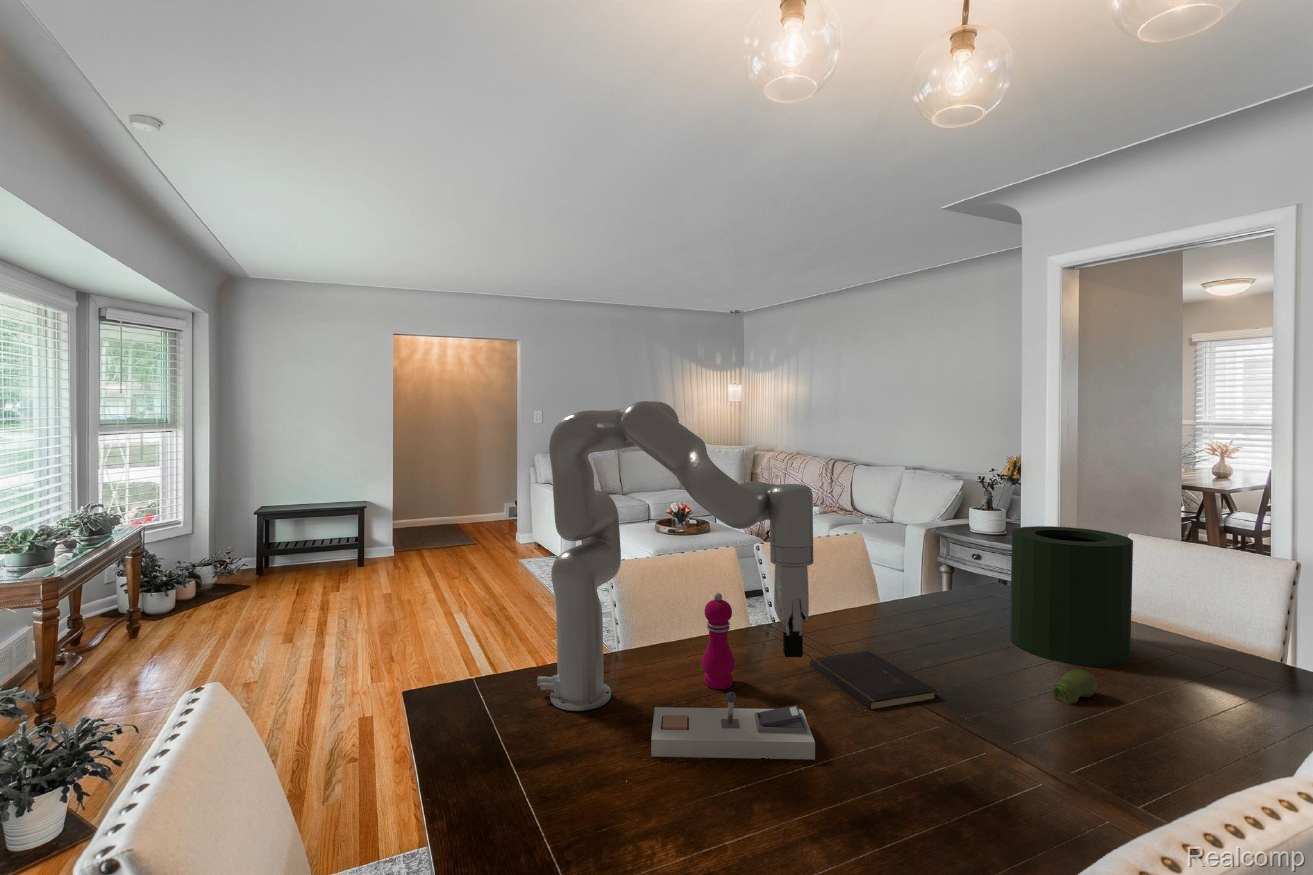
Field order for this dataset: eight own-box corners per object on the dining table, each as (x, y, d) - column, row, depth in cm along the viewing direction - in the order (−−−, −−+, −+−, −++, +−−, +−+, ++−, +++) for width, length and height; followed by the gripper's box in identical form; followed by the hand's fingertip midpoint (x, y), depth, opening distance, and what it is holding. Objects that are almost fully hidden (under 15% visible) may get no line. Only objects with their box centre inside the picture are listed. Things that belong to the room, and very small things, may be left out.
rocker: (763, 729, 113) (762, 723, 113) (760, 717, 118) (759, 711, 118) (802, 721, 113) (801, 716, 113) (798, 710, 117) (796, 704, 117)
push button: (662, 742, 114) (662, 726, 114) (663, 729, 119) (663, 715, 118) (687, 742, 114) (687, 727, 114) (687, 730, 118) (687, 715, 118)
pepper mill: (733, 691, 136) (733, 598, 135) (699, 689, 137) (699, 596, 136) (736, 677, 143) (736, 589, 142) (704, 675, 144) (703, 587, 143)
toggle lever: (725, 726, 115) (726, 697, 112) (725, 718, 117) (725, 689, 114) (735, 726, 115) (736, 697, 112) (734, 718, 116) (735, 689, 114)
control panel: (651, 756, 111) (651, 734, 110) (654, 722, 123) (654, 703, 122) (814, 759, 109) (814, 737, 109) (802, 724, 121) (802, 705, 121)
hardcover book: (868, 659, 154) (868, 650, 153) (936, 701, 132) (936, 690, 131) (809, 668, 149) (809, 658, 149) (870, 712, 127) (870, 701, 127)
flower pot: (1125, 640, 163) (1128, 531, 162) (1135, 675, 142) (1138, 550, 141) (1013, 623, 177) (1015, 523, 176) (1006, 653, 156) (1008, 539, 154)
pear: (1102, 671, 131) (1071, 689, 127) (1104, 696, 131) (1073, 713, 127) (1075, 661, 136) (1044, 678, 132) (1076, 685, 137) (1046, 701, 133)
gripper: (765, 545, 121) (767, 640, 122) (775, 564, 106) (777, 672, 107) (805, 545, 121) (806, 640, 122) (821, 563, 106) (822, 672, 107)
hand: (793, 655), depth 114 cm, fingers closed
